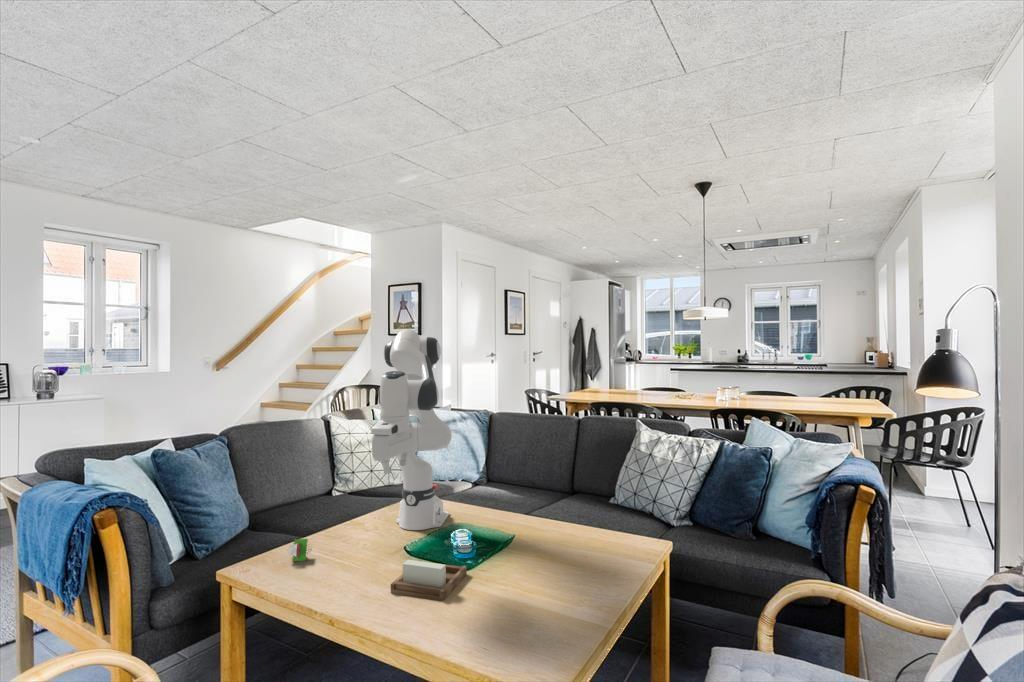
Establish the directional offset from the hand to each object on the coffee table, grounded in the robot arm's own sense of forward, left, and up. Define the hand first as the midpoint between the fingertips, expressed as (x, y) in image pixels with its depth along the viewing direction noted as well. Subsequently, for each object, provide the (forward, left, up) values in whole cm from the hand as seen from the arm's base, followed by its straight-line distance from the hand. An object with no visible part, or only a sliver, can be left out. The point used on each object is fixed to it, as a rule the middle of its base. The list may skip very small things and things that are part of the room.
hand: (395, 469), depth 168 cm
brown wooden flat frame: (+5, +14, -31) cm, 34 cm away
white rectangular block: (+9, +14, -30) cm, 34 cm away
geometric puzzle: (+2, -34, -31) cm, 46 cm away
